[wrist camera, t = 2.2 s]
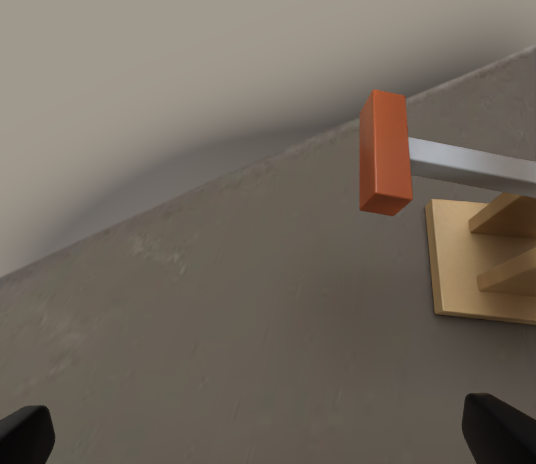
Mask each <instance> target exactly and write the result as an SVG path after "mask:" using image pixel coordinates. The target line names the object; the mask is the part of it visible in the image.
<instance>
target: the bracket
mask: <svg viewBox="0 0 536 464" xmlns="http://www.w3.org/2000/svg"><path fill="white" fill-rule="evenodd" d="M425 211H426V222H427V233H428V244H429V255H430V266H431V277H432V289H433V300H434V311H435V314H440V315H449V316H458V317H467V318H476V319H486V320H495V321H504V322H513V323H522V324H531V325H536V198H533V197H528V196H522V195H517V194H511V193H506V192H503V193H502V194H500V195H499V196H498V197H497V198H495V199H494V200H493V201H492V202H490V203H489V204H488V203H475V202H463V201H451V200H439V199H431V200H430V201H429V203H428V204H427V205H426V206H425Z"/></svg>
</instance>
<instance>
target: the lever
mask: <svg viewBox="0 0 536 464" xmlns="http://www.w3.org/2000/svg"><path fill="white" fill-rule="evenodd" d="M411 175H414V176H420V177H425V178H431V179H436V180H441V181H447V182H452V183H458V184H463V185H468V186H474V187H479V188H485V189H490V190H495V191H501V192H506V193H511V194H517V195H522V196H528V197H533V198H536V162H533V161H528V160H523V159H517V158H512V157H507V156H502V155H497V154H492V153H487V152H482V151H477V150H471V149H466V148H461V147H456V146H451V145H446V144H441V143H436V142H431V141H425V140H420V139H415V138H410V137H408V127H407V114H406V100H405V96H404V95H399V94H394V93H389V92H384V91H379V90H373V91H372V92H371V94H370V96H369V98H368V100H367V101H366V103H365V105H364V107H363V109H362V110H361V112H360V210H361V211H366V212H372V213H377V214H383V215H389V216H394V215H395V214H397V213H398V212H399V211H400V210H401V209H402V208H404V207H405V206H406V205H407V204H408V203H409V202H411V201H412V199H413V195H412V181H411Z"/></svg>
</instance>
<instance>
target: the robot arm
mask: <svg viewBox="0 0 536 464" xmlns="http://www.w3.org/2000/svg"><path fill="white" fill-rule="evenodd" d="M462 431H463V435H464V438H465V440H466V442H467V444H468V446H469V449H470V451H471V453H472V455H473V457H474V459H475V461H476V463H477V464H536V420H535V419H533V418H531V417H530V416H528V415H526V414H524V413H522V412H521V411H519V410H517V409H515V408H514V407H512V406H510V405H508V404H507V403H505V402H503V401H501V400H500V399H498V398H496V397H494V396H493V395H491V394H488V393H470V394H468V395H467V396H466V397H465V402H464V410H463V419H462ZM54 443H55V433H54V428H53V424H52V420H51V416H50V412H49V409H48V408H47V407H46V406H43V405H38V406H26V407H23V408H21V409H19V410H18V411H16V412H14V413H12V414H11V415H9V416H7V417H5V418H4V419H2V420H0V464H45V463H46V461H47V459H48V457H49V455H50V453H51V451H52V449H53V446H54Z"/></svg>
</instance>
